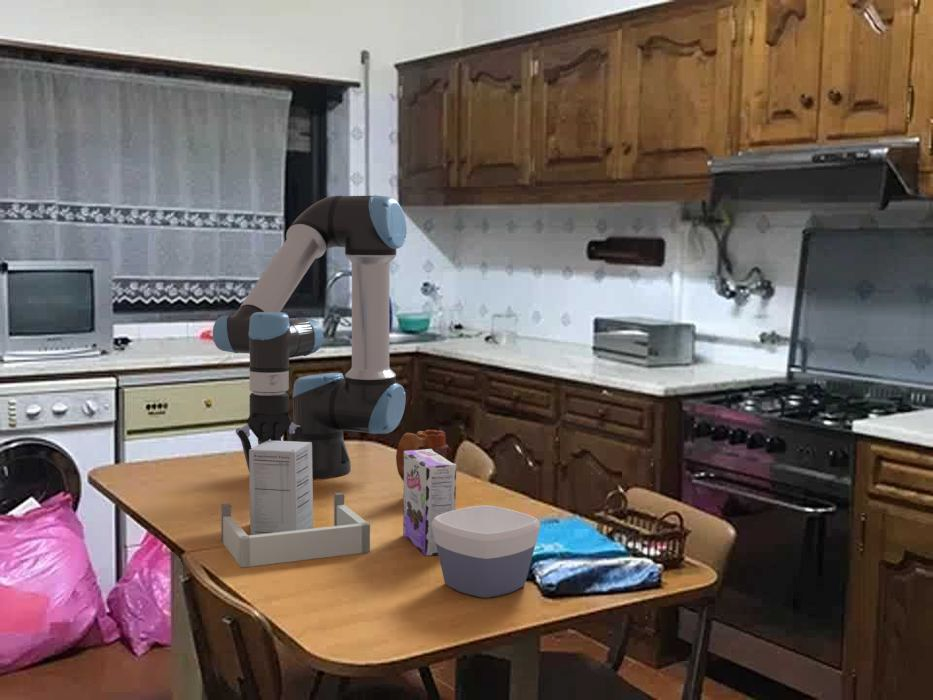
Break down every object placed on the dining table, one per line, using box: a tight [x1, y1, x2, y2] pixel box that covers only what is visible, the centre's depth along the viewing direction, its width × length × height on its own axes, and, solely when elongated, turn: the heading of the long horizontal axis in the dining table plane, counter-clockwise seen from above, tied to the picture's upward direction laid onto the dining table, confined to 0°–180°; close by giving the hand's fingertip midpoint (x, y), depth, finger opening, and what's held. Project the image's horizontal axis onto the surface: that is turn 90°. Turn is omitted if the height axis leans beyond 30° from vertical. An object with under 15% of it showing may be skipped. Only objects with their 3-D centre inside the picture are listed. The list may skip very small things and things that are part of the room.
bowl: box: [431, 504, 541, 599], centre depth 169 cm, size 15×15×11 cm
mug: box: [395, 429, 452, 482], centre depth 222 cm, size 15×8×15 cm, turn 141°
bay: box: [220, 492, 371, 568], centre depth 188 cm, size 16×23×7 cm
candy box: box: [402, 449, 457, 557], centre depth 191 cm, size 14×6×16 cm, turn 21°
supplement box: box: [248, 440, 314, 535], centre depth 196 cm, size 10×9×17 cm
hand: (269, 511), depth 204 cm, fingers closed
